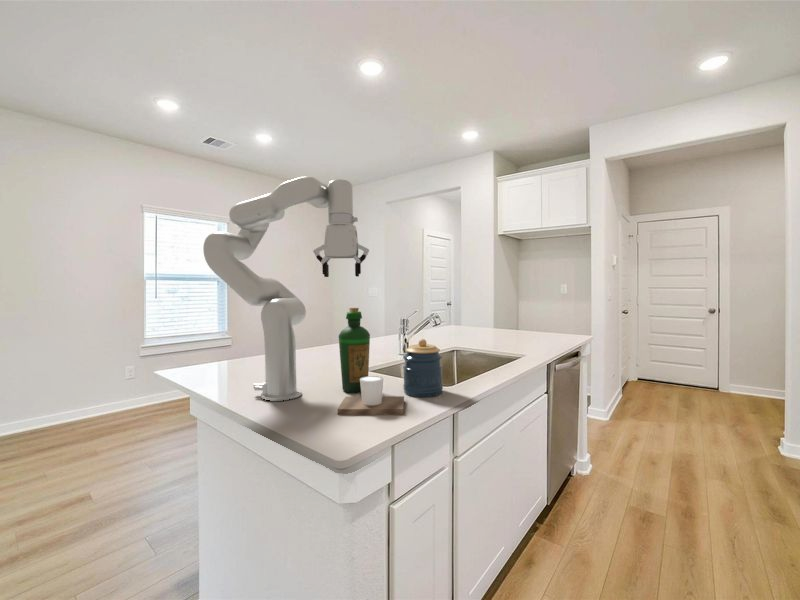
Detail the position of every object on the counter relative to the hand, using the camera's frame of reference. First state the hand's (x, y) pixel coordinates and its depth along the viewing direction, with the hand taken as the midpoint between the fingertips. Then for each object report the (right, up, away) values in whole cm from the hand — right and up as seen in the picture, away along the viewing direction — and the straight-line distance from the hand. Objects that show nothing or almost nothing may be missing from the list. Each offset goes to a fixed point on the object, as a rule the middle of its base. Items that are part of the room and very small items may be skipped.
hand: (341, 276), depth 116 cm
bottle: (+3, -38, +11) cm, 40 cm away
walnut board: (+10, -38, -8) cm, 41 cm away
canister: (+26, -38, +7) cm, 47 cm away
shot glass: (+10, -37, -8) cm, 39 cm away
